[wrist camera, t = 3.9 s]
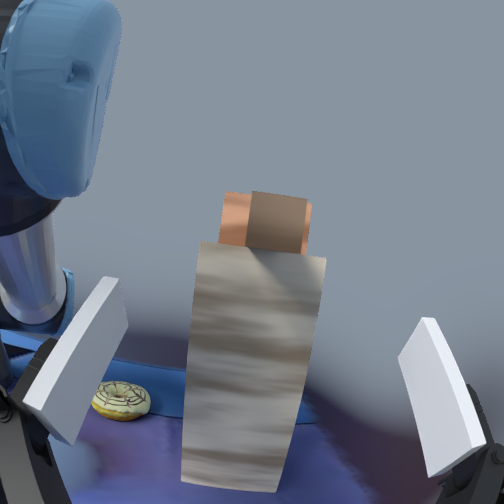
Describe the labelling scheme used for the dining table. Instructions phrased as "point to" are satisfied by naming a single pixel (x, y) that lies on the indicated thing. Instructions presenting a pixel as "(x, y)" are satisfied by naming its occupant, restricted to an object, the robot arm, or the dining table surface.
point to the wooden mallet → (265, 222)
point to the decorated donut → (121, 400)
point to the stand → (247, 363)
